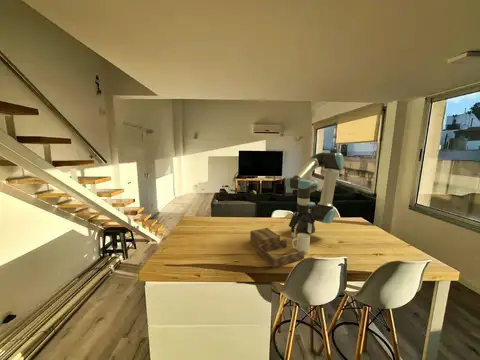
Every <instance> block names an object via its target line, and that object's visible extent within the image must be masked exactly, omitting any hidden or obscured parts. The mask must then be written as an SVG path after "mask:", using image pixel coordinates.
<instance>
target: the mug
mask: <svg viewBox="0 0 480 360" xmlns="http://www.w3.org/2000/svg"><path fill="white" fill-rule="evenodd" d="M310 239H311V235H310V234H309V233H302V232H299V233H298V234H296V237H295V238H294V237H293V239H292V241H291V247H292V248H294V249H296V252H299V251H302V250H304V251H305V252H304V254H306V253H307V254H308V253H309V251H310V245H311V244H310V243H311V241H310ZM295 241H296V245H294V243H295Z"/></svg>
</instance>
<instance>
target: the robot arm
mask: <svg viewBox="0 0 480 360" xmlns="http://www.w3.org/2000/svg"><path fill="white" fill-rule="evenodd" d="M344 167H345V158H344V155H343V154H342V153H338V152H319V153H316V154H314V155H312V156H310V157H309V158H308V159H307V162H306V163H305V164H304V165H303V166H302V167H301V169H300V170H298V171H297V172H296V173H295V174H294V175H293V176H292V177H287V178H286V179H285V180H284V186H285V187H286V188H288V189H290V190H295V191H296V190H297V201H296V202H297V203H296V209H297V212H296V211H293V212H292V217H291V219H290V221H289V224H288V227H289V228H290V232H291V237H292V238H293V239H294V238H296V235H297V234H296V231H297V232H299V233H304V234H313V233H315V232H316V227H315V223H316V222H320V223H323V224H331V223H332V222H333V221H334V218H335V216H336V210H335V209H334V206H333V205H334V204H333V200H334V193H335V189H336V188H335V187H336V182H337V177H338V173H340V171H341V170H343V169H344ZM318 168H323V170H324V171H325V172H324V178H323V183H322V189H321V194H320V201H319V202H317V205H316V203H315V202H313V201H311V197H310V195H311V193H313V192H316V191H317V190H318V189H319V187H320V185H319V184H320V182H318V180H316V179H311V180H309V179H307V178H309V176H310V175H311V174H312V173H313V172H314V170H317V169H318Z"/></svg>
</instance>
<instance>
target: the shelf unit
mask: <svg viewBox="0 0 480 360" xmlns="http://www.w3.org/2000/svg"><path fill="white" fill-rule="evenodd" d="M249 236H250V238H249V242H250V243H251V244H252V245H253V246H255V247H256V254H257V255H258V256H259V257H260V258H261V259H263V261H265V262H266V263H267V264H268V265H269V266H271V268H277V267H279V266H283V265H287V264H291V263H293V262H298V261H300V260H304V259H305V253H304V252H305V251H304V250H302V251H299V252H298V251H296V252H291V253H288V254H284V255H280V256H276V257H273V256H272V255H271V254H269V253H268V252H270V251H274V250H278V249H282V248H283V249H284V248H286V247H287V245H288V244H287V242H288V239H285V238H284V239H281V235H279V234H277V233H275V232H274V230H273V231H272V229H269V227H265V228H264V227H263V228H260V229H254V230H250V235H249ZM303 258H304V259H303Z"/></svg>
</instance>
